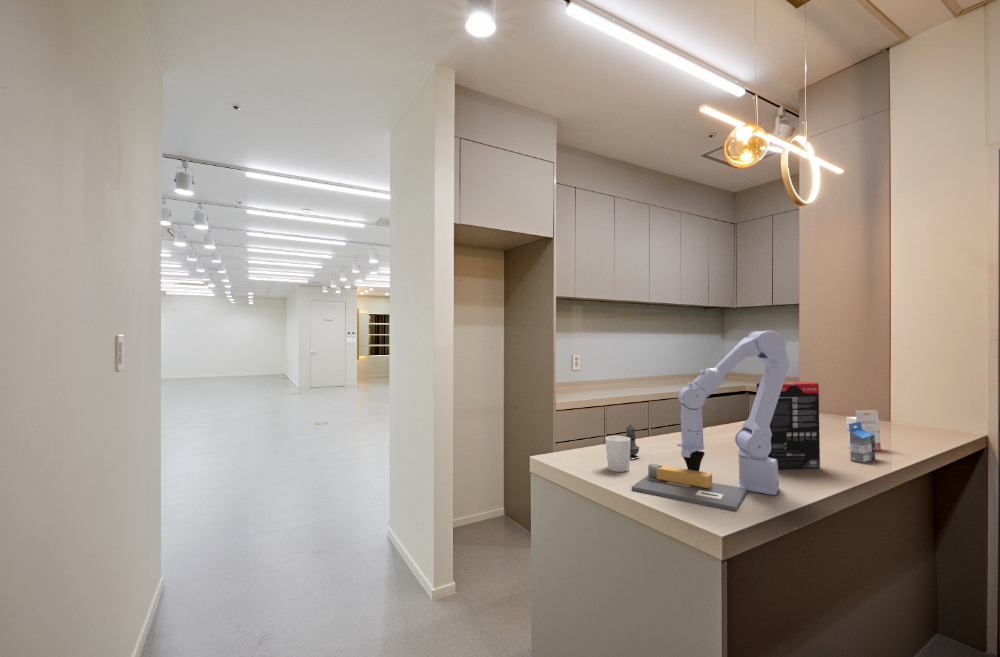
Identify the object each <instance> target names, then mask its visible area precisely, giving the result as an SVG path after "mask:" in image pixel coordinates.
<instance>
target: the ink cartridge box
mask: <svg viewBox="0 0 1000 657" xmlns="http://www.w3.org/2000/svg"><path fill="white" fill-rule="evenodd" d="M866 413H867V415H866ZM864 414H865V415H864ZM845 421H846V434H847V435H846V436H847V437H846V438H847V448H848V449H850V430H849V424H852V423H856V422H860V421H861V427H862V429H863V430H865V431H867V432H869V433H871V434H873V435H874V436H875V452H876V451H882V450H881V449H882V447H881V446H882V445H881V431H880V418H879V412H878V410H877V409H864V410H863V409H861V410H858V409H857V410H855V416H846V417H845ZM854 428H857V426H856V425H855V426H854Z"/></svg>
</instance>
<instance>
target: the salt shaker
mask: <svg viewBox="0 0 1000 657" xmlns="http://www.w3.org/2000/svg"><path fill="white" fill-rule="evenodd" d="M635 431H636V429H635V427H634V426H632V424H631V423H629V425H628V426H627V427H626V431H625V432H626V433H625V434H626V435H625V437H629V438H630V458H636V457H639V456H638V455H637V454H638V453H639V451H640V447H639V446H638V445H637V444H636V438H637V436H636V434H635V433H636V432H635Z"/></svg>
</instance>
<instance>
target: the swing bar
mask: <svg viewBox="0 0 1000 657" xmlns="http://www.w3.org/2000/svg"><path fill="white" fill-rule="evenodd" d="M647 467H648V468H647V469H648V470H647V471H648V474H647V475H648V476H649V477H651V478H657V479H661V480H667V481H672V482H678V483H683V484H689V485H694V486H700V487H705V488H709V487H710V486H711V485H712V483H713V473H712V472H707V471H700V470H699V471H695V470H689V469H688V468H681V467H676V466H675V467H674V466H670V465H662V464H657V463H651V464H648V466H647Z"/></svg>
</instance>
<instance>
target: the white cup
mask: <svg viewBox="0 0 1000 657" xmlns="http://www.w3.org/2000/svg"><path fill="white" fill-rule="evenodd" d="M625 436H626V435H625ZM625 436H624V435H609V436H606V437H605V449H606V450H605V452H606V460H607V469H608V470H609V471H612V472H615V473H616V472H617V473H625V471H626V472H628V470H630V462H631V459H630V438H629V437H625Z"/></svg>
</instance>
